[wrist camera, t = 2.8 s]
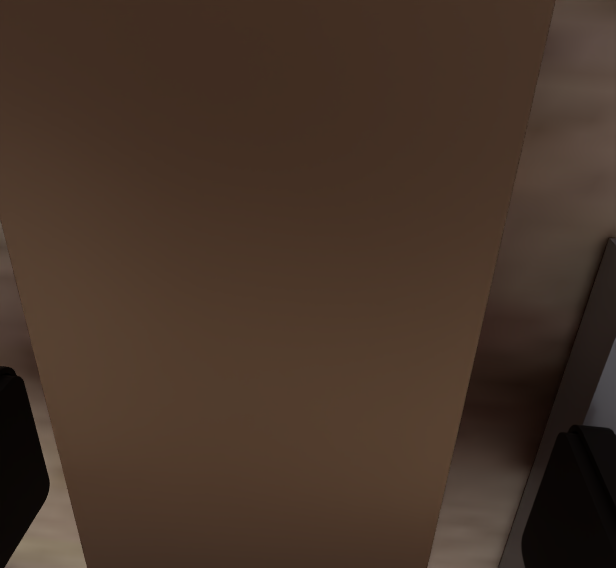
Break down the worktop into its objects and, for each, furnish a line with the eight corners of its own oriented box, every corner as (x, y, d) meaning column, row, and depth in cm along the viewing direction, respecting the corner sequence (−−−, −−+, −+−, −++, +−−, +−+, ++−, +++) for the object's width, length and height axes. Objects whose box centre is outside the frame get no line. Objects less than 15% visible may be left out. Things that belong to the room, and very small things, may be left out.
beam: (154, -270, 7) (-222, -674, 3) (490, -266, 7) (716, -710, 2) (219, 646, 17) (165, 885, 12) (355, 663, 16) (348, 912, 12)
